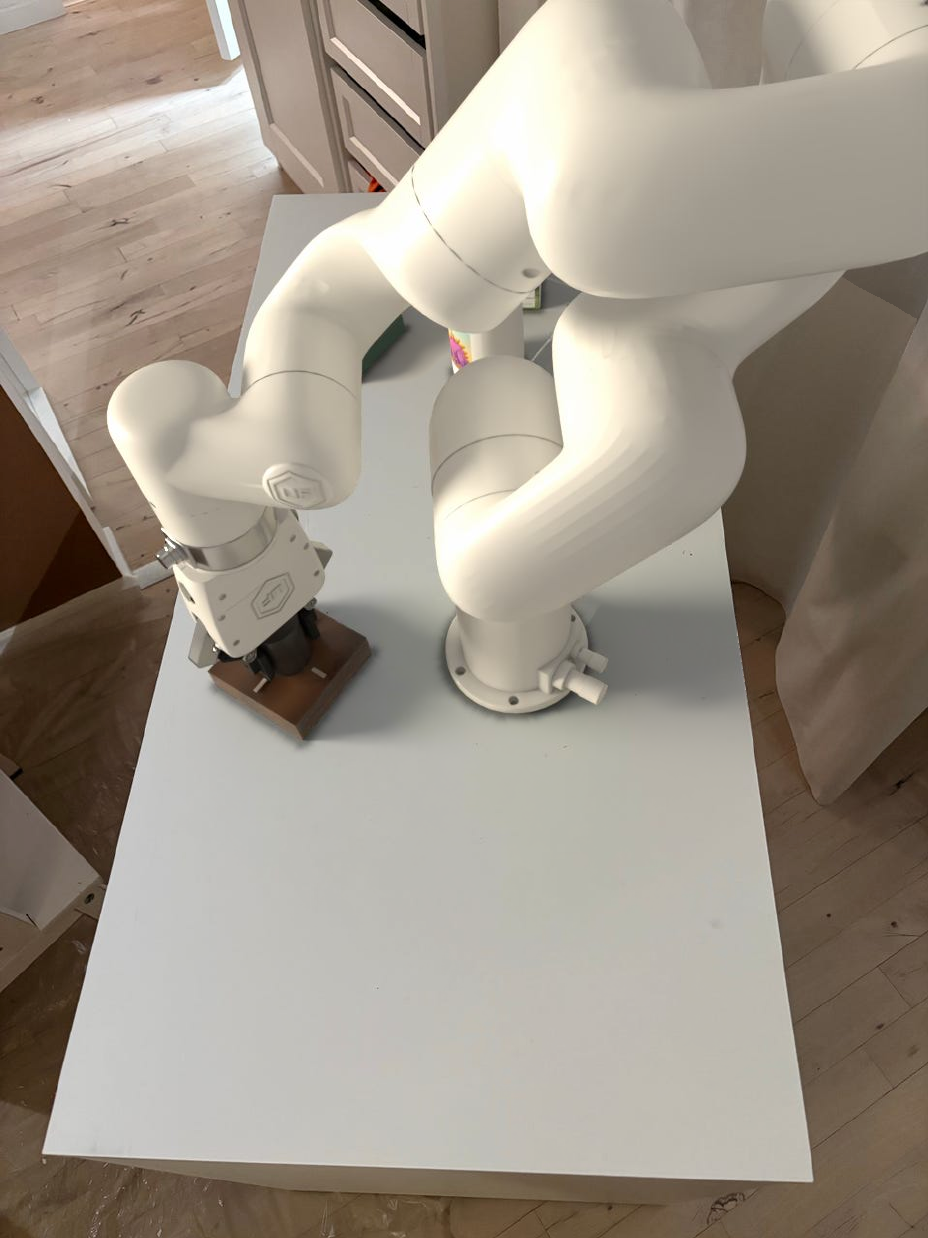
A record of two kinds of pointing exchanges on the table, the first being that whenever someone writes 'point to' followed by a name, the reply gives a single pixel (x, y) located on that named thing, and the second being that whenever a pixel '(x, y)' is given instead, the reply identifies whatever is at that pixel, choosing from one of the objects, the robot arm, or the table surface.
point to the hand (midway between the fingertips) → (284, 647)
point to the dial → (288, 648)
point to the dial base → (300, 679)
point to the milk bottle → (489, 341)
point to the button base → (383, 342)
